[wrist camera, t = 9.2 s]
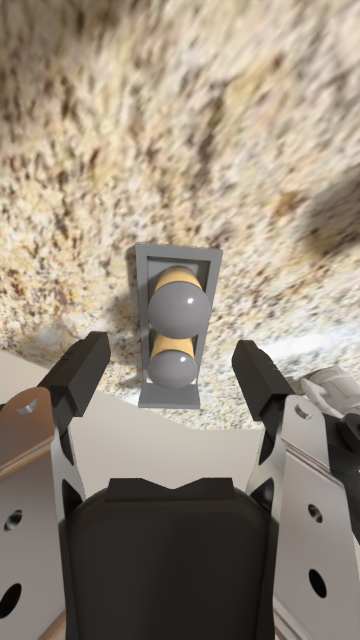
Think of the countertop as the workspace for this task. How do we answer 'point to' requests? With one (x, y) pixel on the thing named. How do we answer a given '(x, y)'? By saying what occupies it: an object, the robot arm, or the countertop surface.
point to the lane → (149, 268)
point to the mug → (333, 392)
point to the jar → (179, 304)
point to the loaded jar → (172, 362)
